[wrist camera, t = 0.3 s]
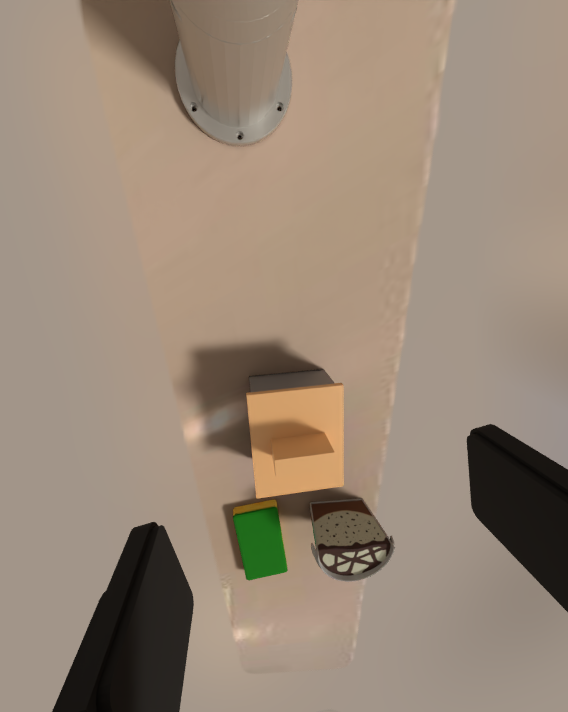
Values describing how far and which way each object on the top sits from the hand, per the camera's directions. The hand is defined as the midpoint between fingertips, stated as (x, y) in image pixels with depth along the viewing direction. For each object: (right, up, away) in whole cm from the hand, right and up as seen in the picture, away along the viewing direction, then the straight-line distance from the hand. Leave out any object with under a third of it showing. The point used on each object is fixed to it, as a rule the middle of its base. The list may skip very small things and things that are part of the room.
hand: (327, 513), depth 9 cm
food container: (+8, -23, +46) cm, 52 cm away
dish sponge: (-5, -26, +45) cm, 52 cm away
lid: (0, -6, +33) cm, 34 cm away
